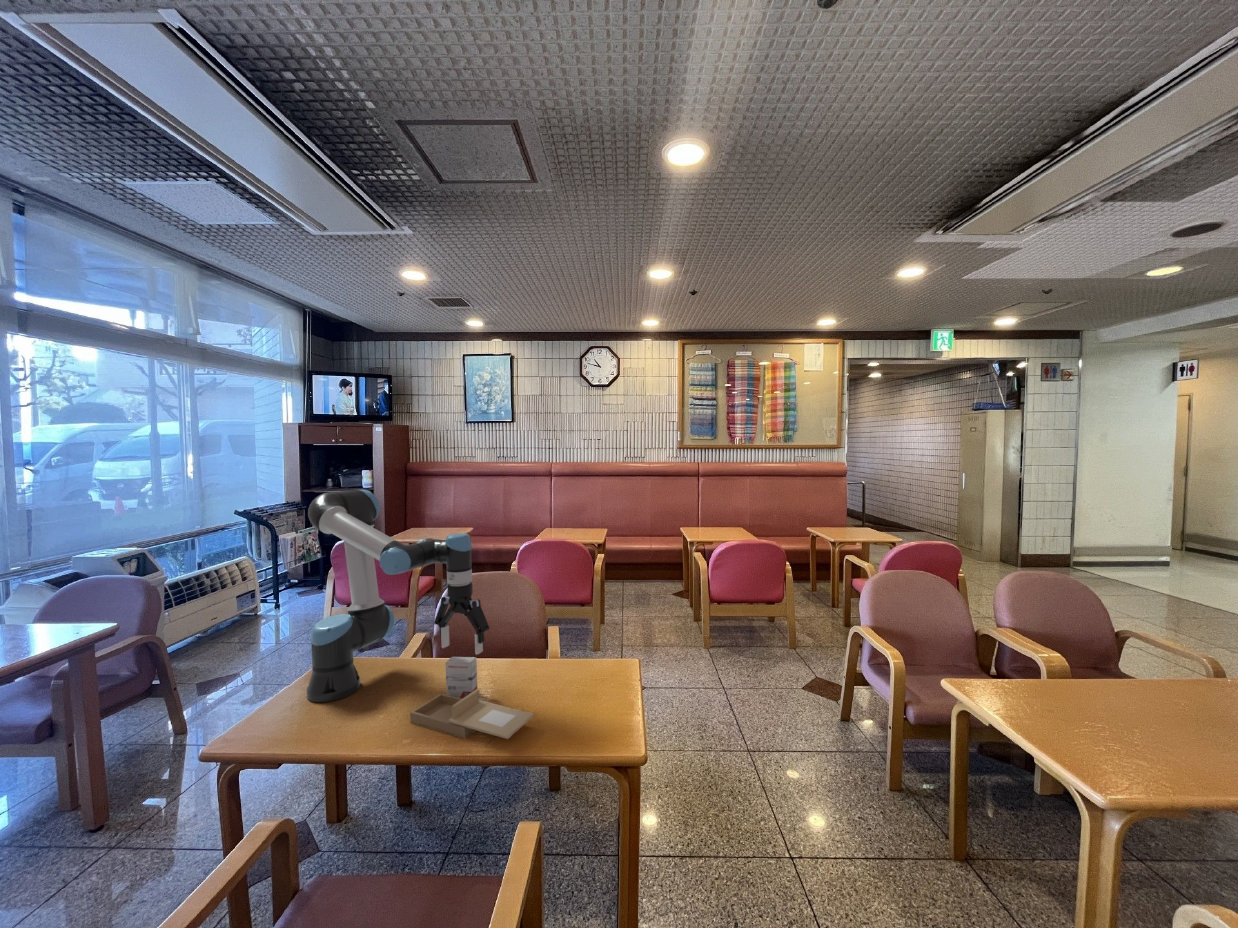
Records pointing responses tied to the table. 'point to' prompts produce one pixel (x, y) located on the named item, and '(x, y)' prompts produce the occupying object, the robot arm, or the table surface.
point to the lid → (488, 716)
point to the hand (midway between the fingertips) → (462, 649)
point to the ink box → (461, 676)
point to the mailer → (439, 716)
